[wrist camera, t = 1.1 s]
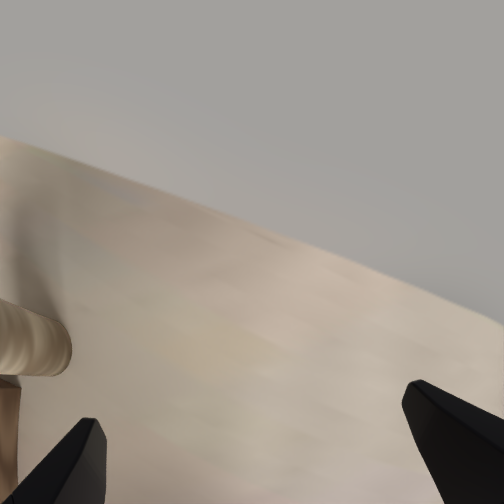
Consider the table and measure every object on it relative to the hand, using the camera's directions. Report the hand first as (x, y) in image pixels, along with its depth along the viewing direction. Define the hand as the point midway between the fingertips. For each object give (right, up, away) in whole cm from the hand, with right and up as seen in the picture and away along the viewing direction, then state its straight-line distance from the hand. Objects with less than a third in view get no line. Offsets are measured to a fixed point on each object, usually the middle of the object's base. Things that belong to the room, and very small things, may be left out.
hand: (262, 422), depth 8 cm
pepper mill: (-16, -3, +12) cm, 20 cm away
